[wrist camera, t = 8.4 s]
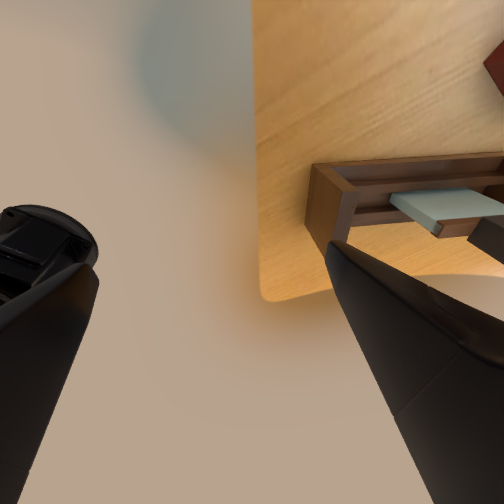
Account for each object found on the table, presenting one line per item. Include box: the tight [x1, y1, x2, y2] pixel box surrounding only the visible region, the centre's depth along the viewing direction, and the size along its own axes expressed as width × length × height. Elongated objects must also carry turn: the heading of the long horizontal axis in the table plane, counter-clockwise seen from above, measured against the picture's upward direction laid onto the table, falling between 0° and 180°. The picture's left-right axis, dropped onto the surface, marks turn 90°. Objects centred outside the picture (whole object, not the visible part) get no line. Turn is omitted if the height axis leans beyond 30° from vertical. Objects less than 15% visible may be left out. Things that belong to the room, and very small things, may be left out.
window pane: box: [389, 187, 504, 264], centre depth 17 cm, size 7×2×10 cm, turn 92°
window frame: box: [304, 152, 504, 259], centre depth 20 cm, size 18×6×6 cm, turn 92°
